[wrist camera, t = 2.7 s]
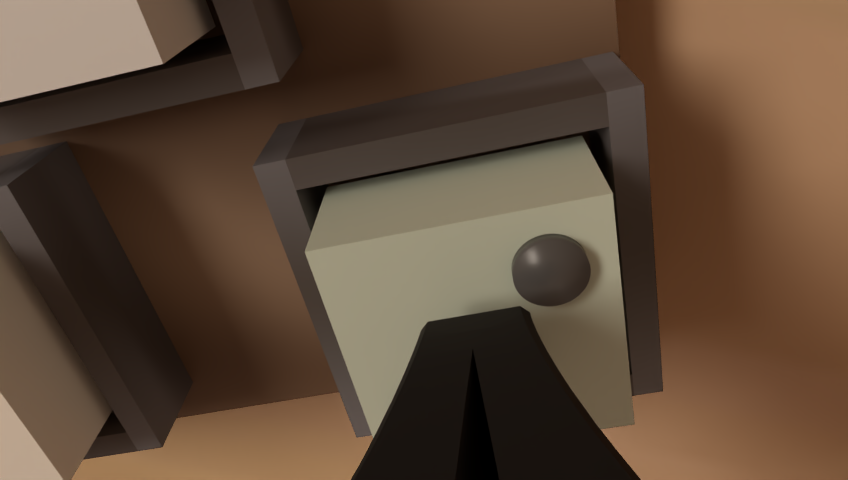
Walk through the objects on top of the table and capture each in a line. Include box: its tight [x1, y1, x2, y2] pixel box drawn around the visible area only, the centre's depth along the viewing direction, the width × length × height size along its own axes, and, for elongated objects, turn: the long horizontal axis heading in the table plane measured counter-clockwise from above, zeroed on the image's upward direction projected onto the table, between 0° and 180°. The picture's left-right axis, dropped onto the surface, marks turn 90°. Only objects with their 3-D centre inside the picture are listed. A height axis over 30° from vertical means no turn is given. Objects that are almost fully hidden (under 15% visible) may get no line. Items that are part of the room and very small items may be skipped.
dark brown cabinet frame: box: [0, 0, 663, 459], centre depth 11 cm, size 13×15×3 cm
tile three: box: [305, 136, 634, 438], centre depth 10 cm, size 4×4×2 cm
